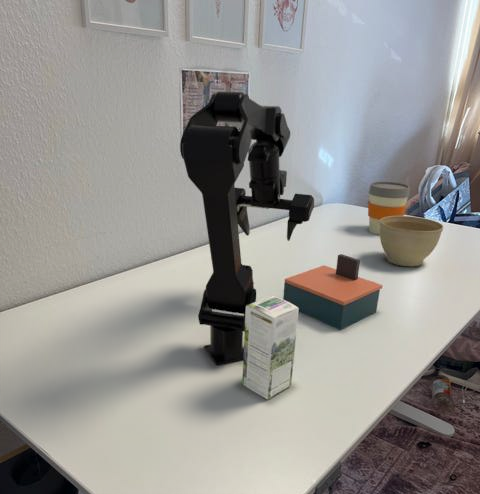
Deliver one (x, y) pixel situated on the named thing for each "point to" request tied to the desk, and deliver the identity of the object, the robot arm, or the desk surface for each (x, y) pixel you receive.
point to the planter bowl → (409, 238)
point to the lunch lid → (336, 281)
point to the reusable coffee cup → (386, 202)
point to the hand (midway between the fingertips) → (268, 237)
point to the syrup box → (269, 345)
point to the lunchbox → (331, 307)
